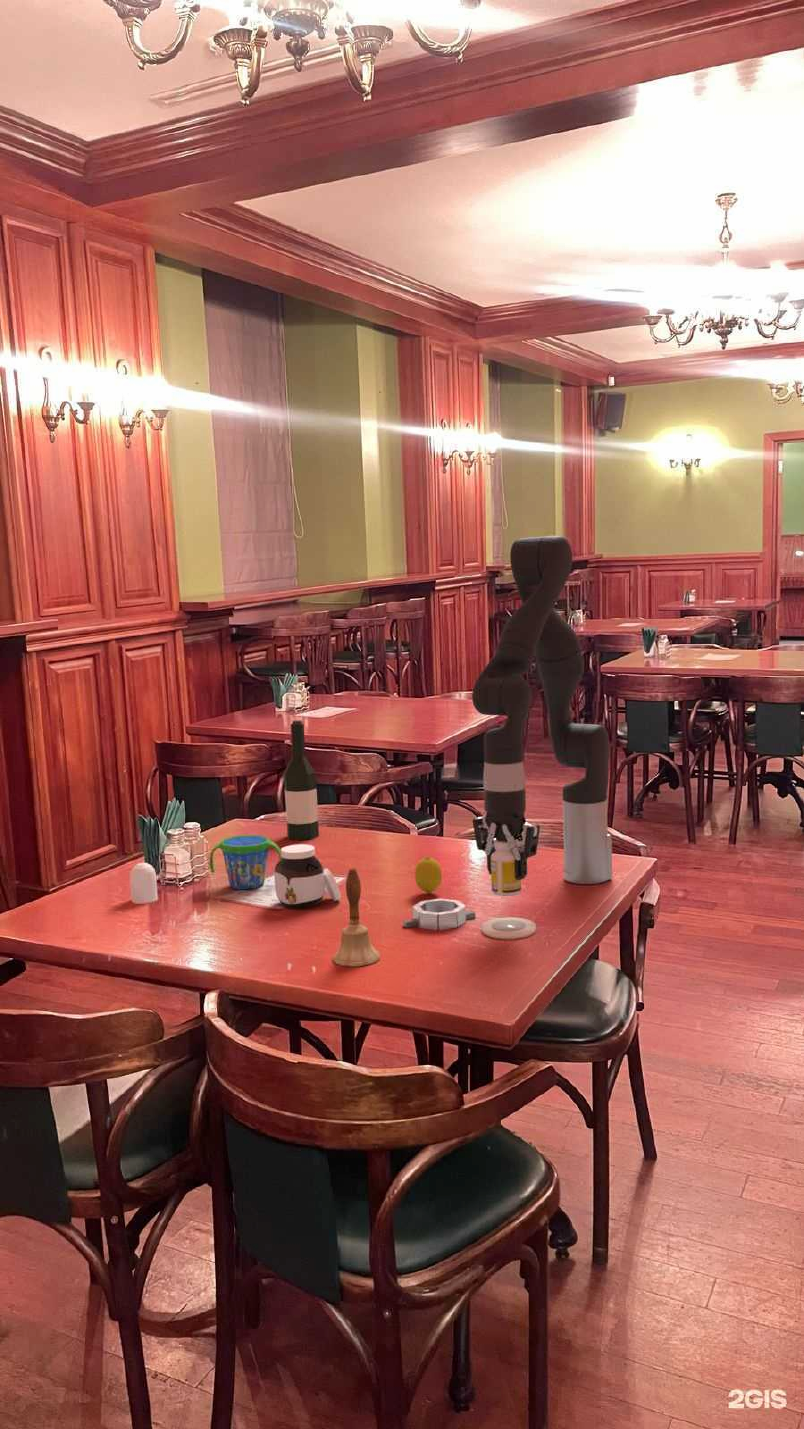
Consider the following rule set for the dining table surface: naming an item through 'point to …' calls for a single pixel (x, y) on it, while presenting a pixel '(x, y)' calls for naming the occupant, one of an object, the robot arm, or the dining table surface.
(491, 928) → the plate
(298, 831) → the wine bottle
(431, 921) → the collar
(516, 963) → the dining table surface
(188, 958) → the dining table surface
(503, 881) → the supplement bottle
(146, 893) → the white domed cylinder
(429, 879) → the lemon
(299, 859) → the spread jar
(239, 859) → the snack cup
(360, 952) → the hand bell
